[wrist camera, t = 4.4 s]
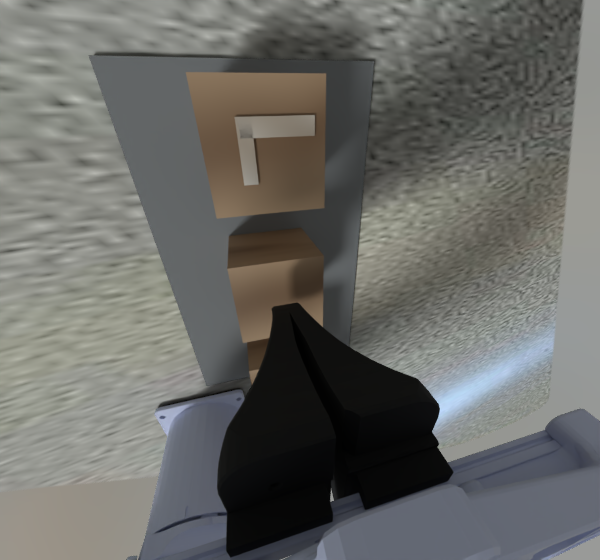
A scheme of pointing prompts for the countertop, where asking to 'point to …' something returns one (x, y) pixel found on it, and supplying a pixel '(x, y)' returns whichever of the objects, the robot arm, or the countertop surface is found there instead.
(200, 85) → the digit block 7
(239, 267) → the plain block
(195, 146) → the mat
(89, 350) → the countertop surface
